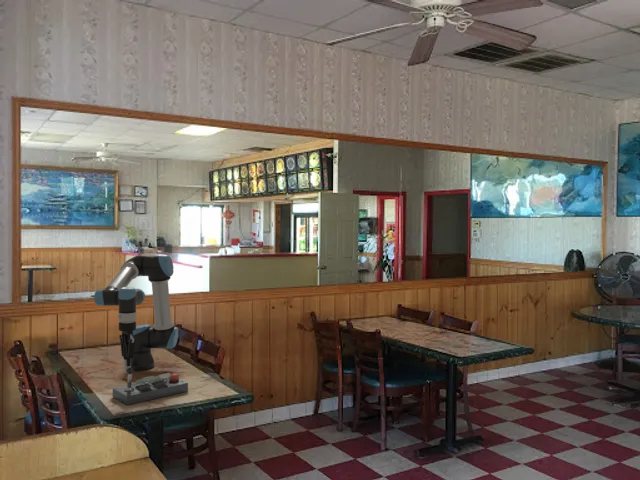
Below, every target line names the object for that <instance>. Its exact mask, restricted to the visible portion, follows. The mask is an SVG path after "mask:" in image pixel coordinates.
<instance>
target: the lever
mask: <svg viewBox="0 0 640 480" xmlns="http://www.w3.org/2000/svg"><path fill="white" fill-rule="evenodd" d="M133 373H134V370H133V369H132V368H128V369H127V373H126V374H127V384H126V385H127V388H129V389H130V388H131V384H133V383H132V381H133V380H132V379H133Z"/></svg>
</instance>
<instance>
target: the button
mask: <svg viewBox="0 0 640 480" xmlns="http://www.w3.org/2000/svg"><path fill="white" fill-rule="evenodd" d="M179 379H180V375H179V373H177V372H176V373H174V372H173V373H170V377H169V380H170V381H171V382H175V381H179Z"/></svg>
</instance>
